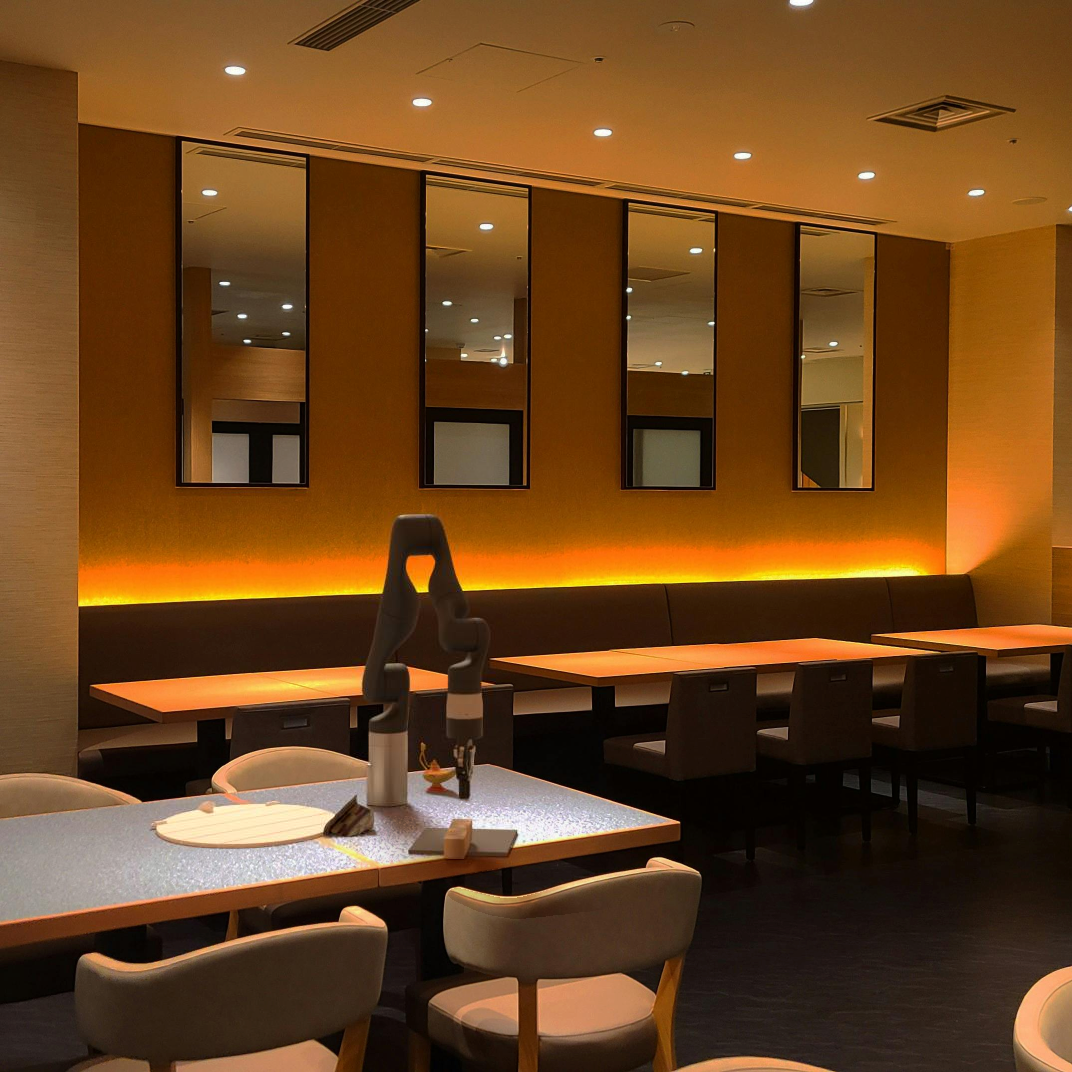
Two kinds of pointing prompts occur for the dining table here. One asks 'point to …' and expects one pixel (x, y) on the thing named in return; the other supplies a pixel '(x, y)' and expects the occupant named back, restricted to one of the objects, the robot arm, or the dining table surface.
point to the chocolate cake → (351, 820)
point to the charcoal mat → (481, 843)
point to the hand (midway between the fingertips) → (464, 798)
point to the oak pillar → (458, 838)
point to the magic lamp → (435, 774)
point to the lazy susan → (244, 825)
